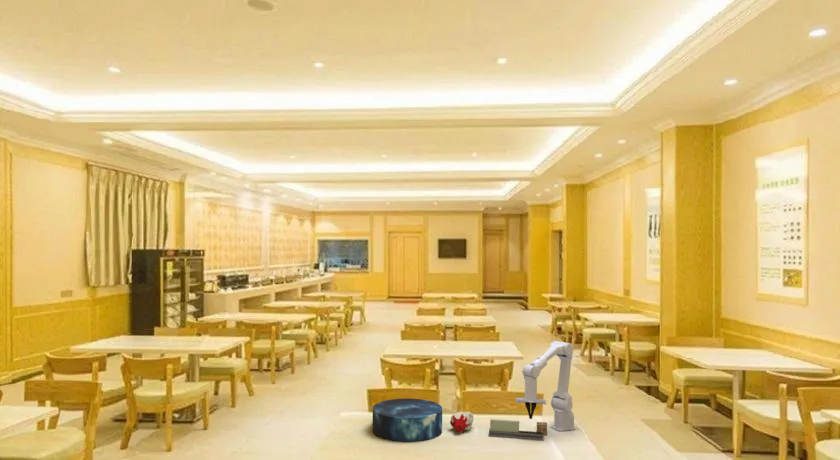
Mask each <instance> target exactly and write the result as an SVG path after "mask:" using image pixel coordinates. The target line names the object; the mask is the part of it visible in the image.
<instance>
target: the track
mask: <svg viewBox="0 0 840 460" xmlns="http://www.w3.org/2000/svg"><path fill="white" fill-rule="evenodd" d="M488 437H491V438H502V439H503V438H504V439H505V438H506V439H516V440H517V439H519V440H531V441H544V435H543V432H537V431H528V430H519V433H516V432H503V431H490V428H489V430H488Z"/></svg>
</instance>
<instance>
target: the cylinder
mask: <svg viewBox="0 0 840 460" xmlns="http://www.w3.org/2000/svg"><path fill="white" fill-rule="evenodd" d="M371 423H372V424H371V425H372V427H371V429H372V430H371V431H372V434H373V435H374V436H376V437H377V438H379V439H382V440H385V441H388V442H394V443H419V442H426V441H427V442H428V441H430V440H434V439H436V438H438V437H440V435H442V433H443V406H442V405H441V404H439V403H438V402H436V401H432V400H429V399H428V400H427V399H422V398H410V397H409V398H392V399H385V400H383V401H379V402H377V403H375V404H373V407H372V421H371Z"/></svg>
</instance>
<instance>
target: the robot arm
mask: <svg viewBox="0 0 840 460" xmlns="http://www.w3.org/2000/svg"><path fill="white" fill-rule="evenodd" d="M573 354H574V346H573V345H572V343H570V342H564V341H558V340H553V341H552V342H551V343H550V344H549V348H548V349H547V350H546V351H545V352H544V353H543V354H542V355H538V356H536V358H535V359H533V361H532V362H530V363H529V364H526V365H525V366H523V369H522V371H521V373H522V375H523V379H524V397H515V403H516V404H521V403H523V404H525V408H526V410H527V414H528V419H530V420H533V415H534V412H535V410H536V408H537V405H543V406H544V405H547V400H546V399H543V398H538V377H540V374H541V371H542V370H543V369H544V368H545V367H546V366H547V364H548V361H549V360H551V359H552V358H554V357H555V356H557V357H558V358H559V360H560V364H559V372H558V381H557V388H556V389H557V390H556V391H555V392H553V393H552V398H550V406H551V408H552V410H553V414H554V417H553V418H554V419H553V420H554V421H553V424H554V425H550V427H551V428H552V429H554V430H556V431H559V432H563V431H564V432H565V431H572V430H573V431H574V430H576V429H575V415H574V412H573V410H572V409H573V405H574V404H573V397H572V395H571V394H570V393H569V387H570V377H571V368H572V361H573V360H572V359H573Z"/></svg>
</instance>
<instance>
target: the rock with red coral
mask: <svg viewBox="0 0 840 460" xmlns="http://www.w3.org/2000/svg"><path fill="white" fill-rule="evenodd" d="M449 421H450V422H449V424H450V425H451V426H450V427H452V429H453V430H454V431H455V432H461V433H462V432H466V430H467V431H468V432H469V431H470V429H471V428H472V426H473V422H474V415H473V414H472V412H470V411H458V412H455V413H454V414H452V415H451V417H450V420H449Z"/></svg>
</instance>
